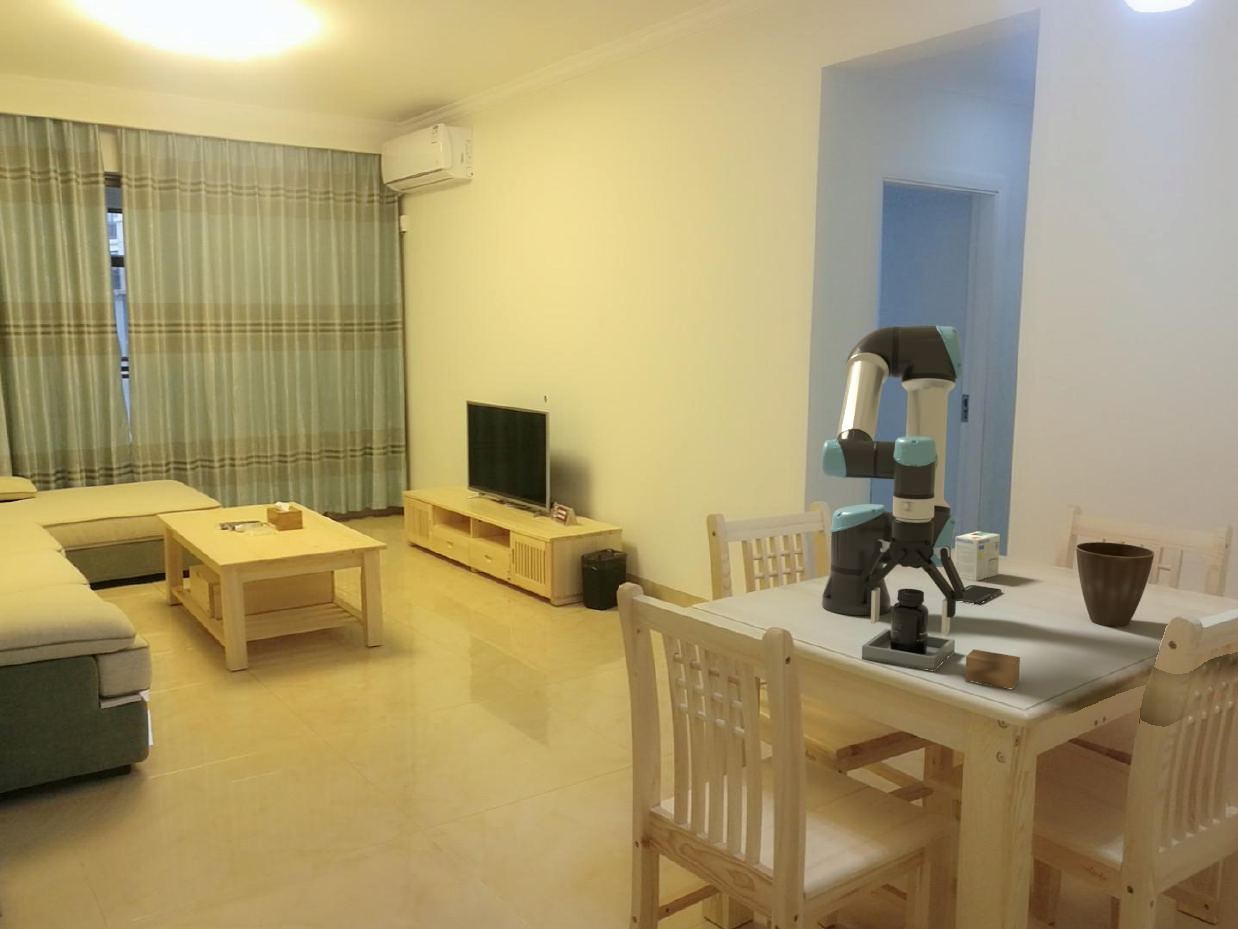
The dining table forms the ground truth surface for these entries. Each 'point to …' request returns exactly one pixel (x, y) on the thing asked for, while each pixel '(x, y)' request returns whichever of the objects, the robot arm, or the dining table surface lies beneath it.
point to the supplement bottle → (909, 622)
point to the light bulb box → (977, 555)
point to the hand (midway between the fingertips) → (909, 627)
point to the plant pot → (1112, 580)
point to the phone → (979, 594)
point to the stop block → (992, 668)
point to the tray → (931, 660)
